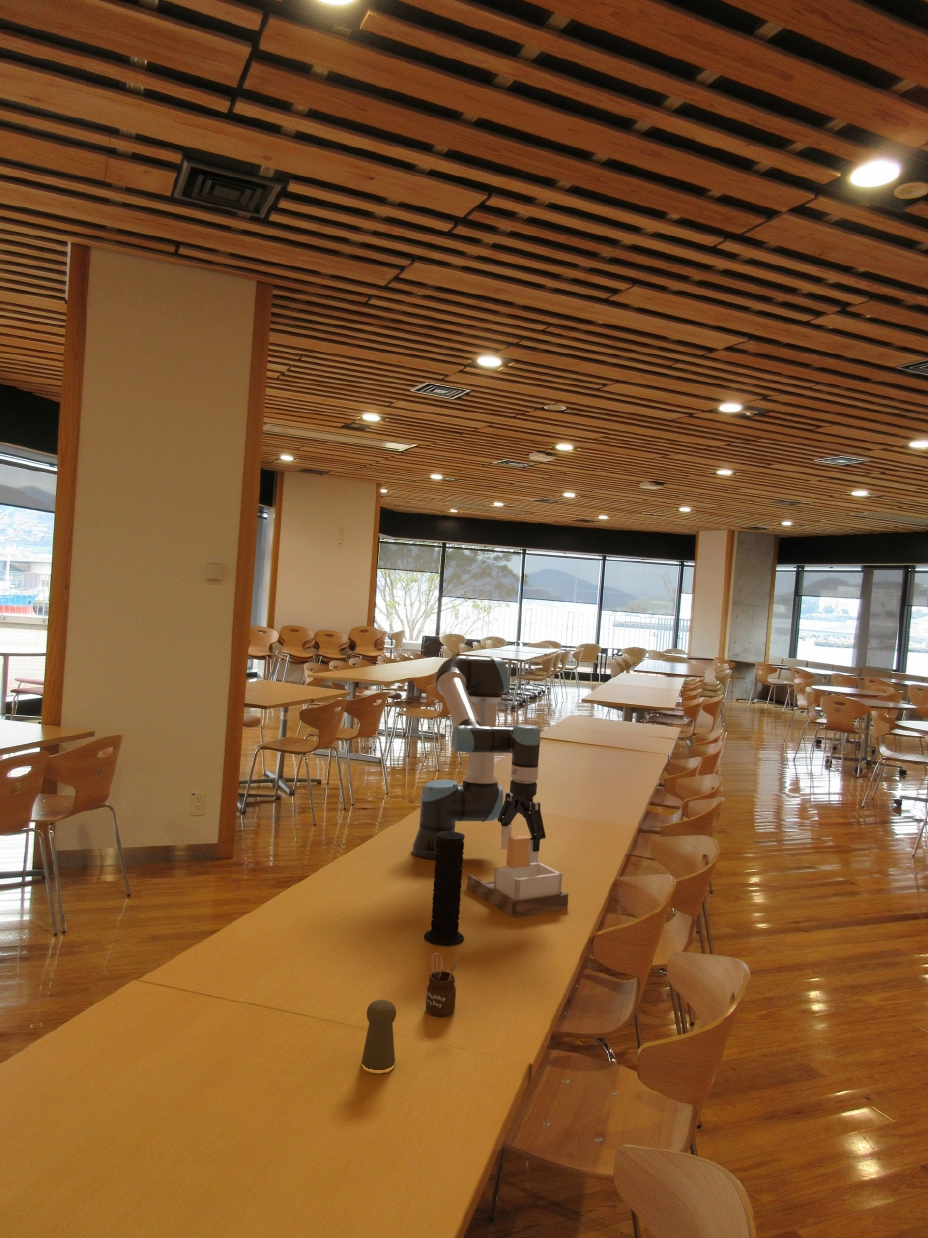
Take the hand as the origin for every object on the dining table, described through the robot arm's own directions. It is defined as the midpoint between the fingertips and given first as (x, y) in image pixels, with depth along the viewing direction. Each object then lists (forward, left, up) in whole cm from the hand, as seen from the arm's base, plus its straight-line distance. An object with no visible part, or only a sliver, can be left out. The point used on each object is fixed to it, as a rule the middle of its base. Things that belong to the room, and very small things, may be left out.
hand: (518, 855), depth 242 cm
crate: (+4, 0, -11) cm, 12 cm away
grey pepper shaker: (+62, -72, -12) cm, 96 cm away
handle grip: (+17, -33, -12) cm, 39 cm away
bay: (0, 0, -12) cm, 12 cm away
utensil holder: (+49, -52, -12) cm, 72 cm away
